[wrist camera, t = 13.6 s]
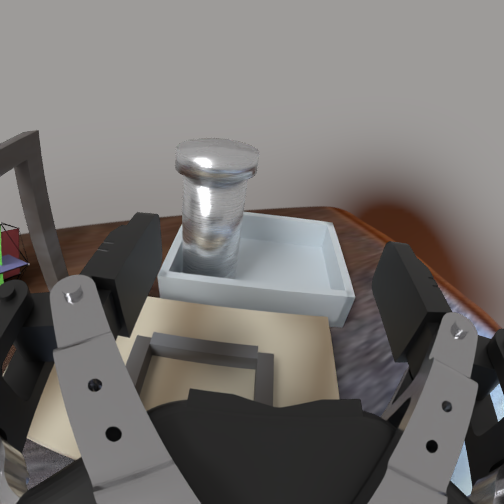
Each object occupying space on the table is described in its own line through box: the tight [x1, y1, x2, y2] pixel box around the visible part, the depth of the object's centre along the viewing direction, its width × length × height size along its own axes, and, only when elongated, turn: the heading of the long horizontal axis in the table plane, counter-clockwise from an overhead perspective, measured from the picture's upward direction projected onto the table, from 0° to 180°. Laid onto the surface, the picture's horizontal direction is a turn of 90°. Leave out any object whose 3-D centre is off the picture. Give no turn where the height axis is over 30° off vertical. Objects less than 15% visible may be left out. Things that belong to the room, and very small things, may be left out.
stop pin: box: [175, 138, 259, 279], centre depth 21 cm, size 5×5×10 cm
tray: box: [158, 212, 355, 327], centre depth 24 cm, size 13×10×3 cm
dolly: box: [0, 130, 339, 460], centre depth 11 cm, size 20×12×13 cm, turn 87°
